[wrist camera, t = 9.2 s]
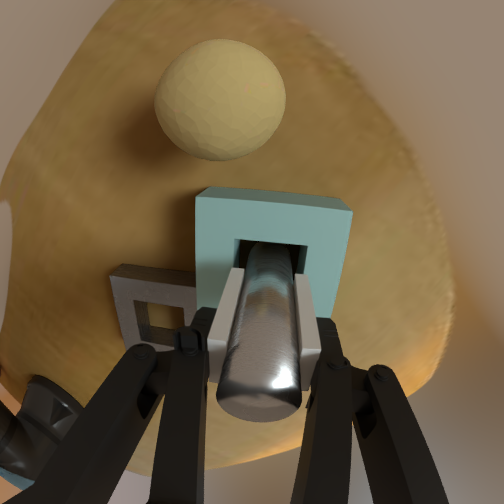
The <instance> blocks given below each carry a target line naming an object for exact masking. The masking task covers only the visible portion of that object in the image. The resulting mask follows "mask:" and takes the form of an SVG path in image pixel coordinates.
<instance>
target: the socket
mask: <svg viewBox="0 0 504 504" xmlns="http://www.w3.org/2000/svg"><path fill="white" fill-rule="evenodd" d="M352 215H353V211H352V210H351V209H350V208H349V207H348V206H347V205H346V204H345V203H344V202H343V201H342V200H340V199H338V198H331V197H323V196H314V195H305V194H296V193H287V192H276V191H265V190H253V189H240V188H225V187H209V188H207V189H206V190H204V191H203V192H201V193H200V194H199V195H197V196H196V202H195V253H196V294H197V310H199V309H200V308H201V307H210V308H218V306H219V303H220V300H221V297H222V294H223V291H224V288H225V285H226V282H227V280H228V277H229V274H230V271H231V268H239V256H240V239H243V240H254V241H265V242H275V243H286V244H296V245H300V251H299V258H298V265H297V271H296V274H305V275H308V279H309V284H310V289H311V294H312V299H313V305H314V310H315V316H316V317H323V318H330V317H331V314H332V310H333V306H334V302H335V298H336V293H337V289H338V285H339V281H340V276H341V272H342V267H343V262H344V258H345V253H346V248H347V243H348V237H349V232H350V226H351V221H352ZM293 284H294V281H293Z"/></svg>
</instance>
